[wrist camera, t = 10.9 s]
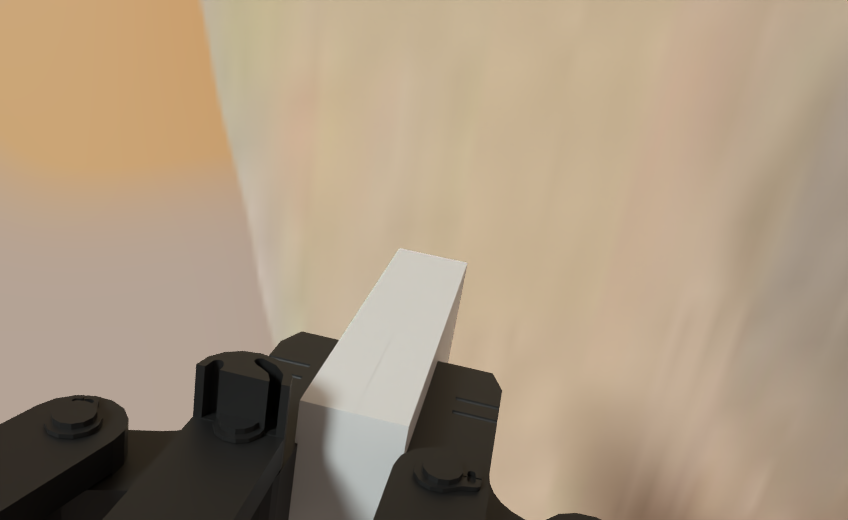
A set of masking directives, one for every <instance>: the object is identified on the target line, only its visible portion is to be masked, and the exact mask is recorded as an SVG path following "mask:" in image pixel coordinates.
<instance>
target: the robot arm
mask: <svg viewBox="0 0 848 520" xmlns="http://www.w3.org/2000/svg"><path fill="white" fill-rule="evenodd" d="M466 268H467V263H466V262H462V261H457V260H453V259H448V258H443V257H439V256H434V255H429V254H425V253H420V252H415V251H411V250H406V249H402V248H399V249H398V251H397V252H396V254H395V255H394V257H393V259H392V260H391V262H390V263H389V265H388V266H387V268H386V269H385V271H384V272H383V274H382V275H381V277H380V278H379V280H378V281H377V283H376V285H375V286H374V288H373V289H372V291H371V292H370V294H369V295H368V297H367V298H366V300H365V301H364V303H363V304H362V306H361V307H360V309H359V310H358V312H357V314H356V315H355V317H354V318H353V320H352V321H351V323H350V324H349V326H348V327H347V329H346V330H345V332H344V333H343V335H342V336H341V338H340V340H336V339H332V338H328V337H323V336H319V335H315V334H310V333H306V332H300V333H298V334H295V335H293V336H291V337H289V338H287V339H285V340H282V341H281V342H280V343H279V344H278V345H277V347H276V348H275V349H274V350H273V351H272V353H271V354H270V355H269V356H267V355H264V354H261V353H253V352H246V351H237V352H224V353H220V354H216V355H213V356H209V357H207V358H206V359H204V360H202V361H201V362H200V363H198V364H197V365H196V379H195V396H194V411H193V417H192V418H191V419H190V421H189V422H188V423H187V424H186V425H185V426H184V427H183V428H182V430H179V431H140V430H128V417H127V414H126V412H125V410H124V408H122V407H121V406H119V405H118V404H116V403H115V402H113V401H112V400H108V399H104V398H101V397H97V396H84V395H74V396H69V397H62V398H56V399H53V400H50V401H47V402H45V403H42V404H39V405H37V406H35V407H33V408H31V409H29V410H27V411H25V412H23V413H21V414H19V415H17V416H16V417H13V418H11V419H10V420H8V421H6V422H4V423H2V424H0V520H525V519H523V518H521V517H520V516H518V515H516V514H515V513H513V512H511V511H510V510H509V509H508V508H507V507H506V506H504V505H503V504H502V503H501V502H500V500H499V499H498V498H497V497H496V495H495V494H494V492H493V490H492V488H491V485H490V480H489V472H490V466H491V459H492V452H493V446H494V439H495V433H496V426H497V420H498V413H499V407H500V400H501V393H502V390H501V388H500V386H499V384H498V382H497V381H496V379H495V377H494V375H493V373H488V372H484V371H480V370H475V369H471V368H467V367H462V366H458V365H454V364H449V363H448V359H449V354H450V349H451V344H452V339H453V334H454V329H455V324H456V319H457V313H458V308H459V303H460V298H461V293H462V288H463V283H464V278H465V273H466ZM547 520H601V519H598V518H596V517H592V516H587V515H583V514H578V513H570V514H558V515H556V516H553V517H551V518H549V519H547Z"/></svg>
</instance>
